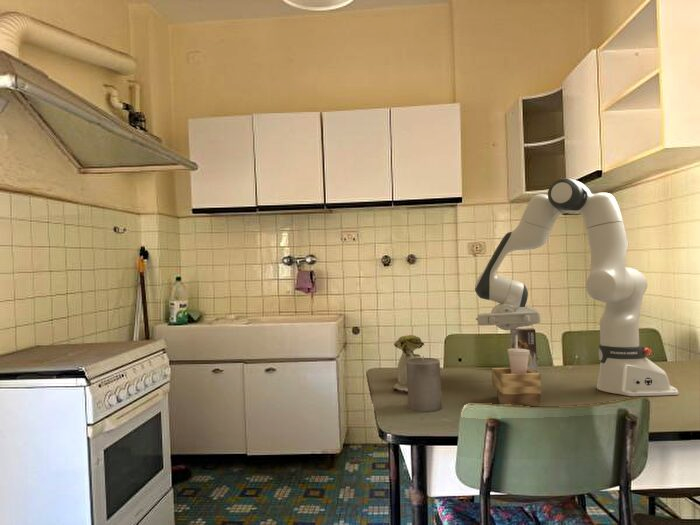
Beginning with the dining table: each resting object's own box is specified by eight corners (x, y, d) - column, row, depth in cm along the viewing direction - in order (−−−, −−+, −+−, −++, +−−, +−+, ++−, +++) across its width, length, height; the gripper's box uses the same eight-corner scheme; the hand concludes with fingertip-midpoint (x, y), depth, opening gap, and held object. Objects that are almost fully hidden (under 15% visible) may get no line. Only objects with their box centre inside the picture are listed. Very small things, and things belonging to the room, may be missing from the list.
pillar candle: (423, 401, 157) (421, 352, 157) (449, 407, 149) (446, 355, 149) (401, 408, 150) (398, 356, 150) (426, 414, 143) (424, 360, 143)
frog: (412, 396, 163) (410, 338, 164) (385, 390, 174) (384, 335, 174) (438, 391, 170) (436, 335, 171) (411, 385, 181) (409, 332, 181)
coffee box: (535, 368, 204) (534, 327, 204) (537, 371, 198) (536, 329, 198) (511, 368, 206) (510, 328, 206) (512, 371, 200) (511, 329, 200)
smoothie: (506, 380, 158) (505, 333, 158) (528, 380, 157) (527, 334, 157) (509, 384, 151) (508, 336, 152) (532, 385, 150) (531, 336, 151)
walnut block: (534, 398, 158) (533, 385, 158) (540, 408, 147) (539, 394, 148) (497, 398, 160) (496, 385, 160) (500, 407, 150) (499, 393, 150)
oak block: (528, 385, 159) (527, 367, 160) (541, 393, 148) (540, 374, 149) (492, 386, 159) (491, 368, 160) (502, 394, 148) (502, 375, 149)
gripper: (474, 309, 183) (477, 311, 169) (535, 306, 179) (542, 308, 165) (476, 327, 182) (478, 330, 169) (536, 324, 179) (544, 328, 165)
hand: (510, 319), depth 167 cm, fingers open, 8 cm apart
